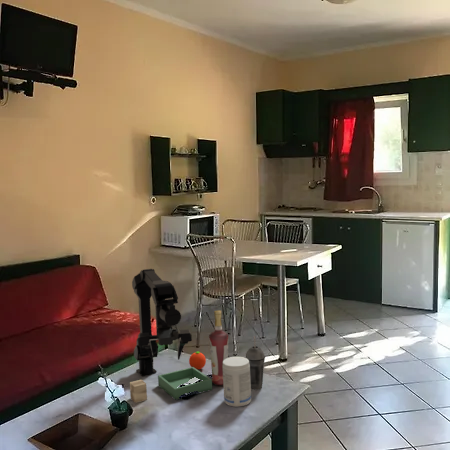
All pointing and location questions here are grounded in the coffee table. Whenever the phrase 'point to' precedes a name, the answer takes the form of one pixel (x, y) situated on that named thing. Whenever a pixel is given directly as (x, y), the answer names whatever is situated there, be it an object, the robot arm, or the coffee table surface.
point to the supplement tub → (236, 381)
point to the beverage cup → (256, 366)
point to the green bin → (177, 378)
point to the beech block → (138, 391)
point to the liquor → (218, 349)
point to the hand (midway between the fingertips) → (165, 360)
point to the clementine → (197, 360)
